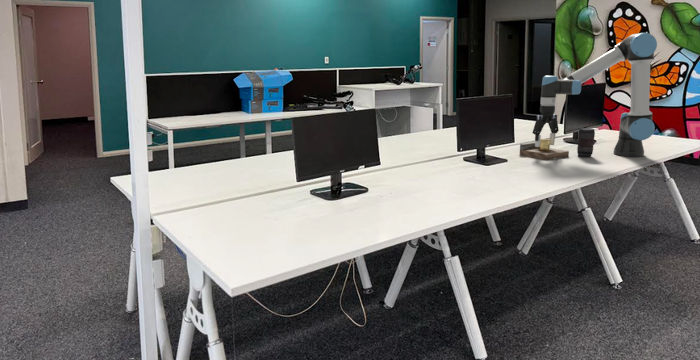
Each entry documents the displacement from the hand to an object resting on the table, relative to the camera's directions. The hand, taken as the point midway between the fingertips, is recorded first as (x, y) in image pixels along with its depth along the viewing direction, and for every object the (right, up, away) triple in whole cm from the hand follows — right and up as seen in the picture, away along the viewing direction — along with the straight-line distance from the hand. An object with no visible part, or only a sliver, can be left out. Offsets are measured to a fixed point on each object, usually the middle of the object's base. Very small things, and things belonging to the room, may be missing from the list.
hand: (544, 145), depth 303 cm
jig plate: (0, -5, +1) cm, 5 cm away
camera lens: (+21, -6, -1) cm, 22 cm away
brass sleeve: (0, -5, +1) cm, 5 cm away
